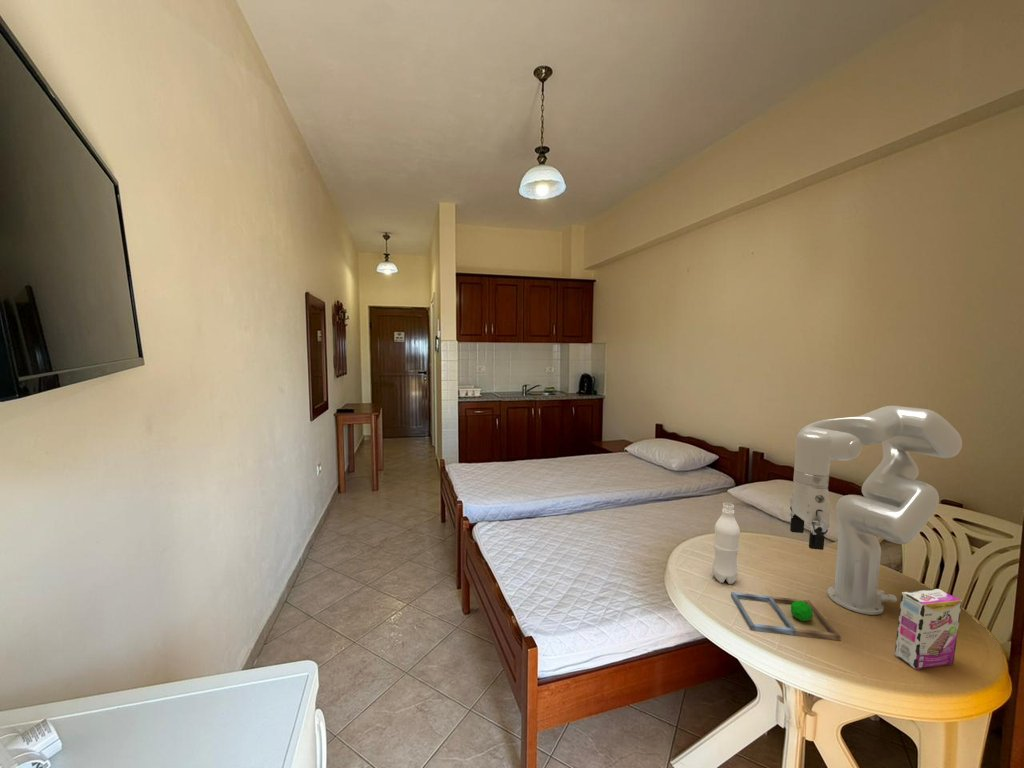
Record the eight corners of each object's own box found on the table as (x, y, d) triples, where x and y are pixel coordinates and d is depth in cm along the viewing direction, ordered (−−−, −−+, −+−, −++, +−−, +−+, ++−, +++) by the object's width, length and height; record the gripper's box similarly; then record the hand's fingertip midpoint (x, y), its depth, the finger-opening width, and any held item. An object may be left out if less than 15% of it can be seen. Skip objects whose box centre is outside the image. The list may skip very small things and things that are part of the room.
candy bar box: (917, 671, 93) (923, 604, 92) (893, 655, 98) (899, 591, 97) (956, 665, 95) (963, 599, 93) (931, 650, 100) (937, 587, 98)
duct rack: (808, 604, 118) (809, 600, 117) (840, 640, 103) (840, 636, 103) (730, 595, 121) (731, 592, 121) (750, 629, 107) (750, 625, 107)
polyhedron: (791, 610, 115) (792, 594, 114) (812, 618, 112) (813, 601, 111) (789, 619, 111) (790, 603, 110) (811, 627, 108) (812, 610, 107)
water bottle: (735, 588, 125) (739, 510, 123) (709, 580, 129) (713, 505, 127) (738, 578, 131) (743, 503, 129) (714, 571, 135) (718, 498, 133)
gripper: (847, 490, 99) (841, 557, 100) (809, 470, 116) (804, 527, 117) (812, 488, 100) (807, 554, 101) (780, 468, 117) (776, 525, 118)
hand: (805, 540), depth 109 cm, fingers open, 9 cm apart
